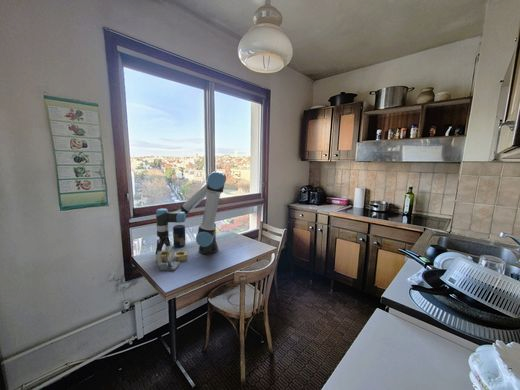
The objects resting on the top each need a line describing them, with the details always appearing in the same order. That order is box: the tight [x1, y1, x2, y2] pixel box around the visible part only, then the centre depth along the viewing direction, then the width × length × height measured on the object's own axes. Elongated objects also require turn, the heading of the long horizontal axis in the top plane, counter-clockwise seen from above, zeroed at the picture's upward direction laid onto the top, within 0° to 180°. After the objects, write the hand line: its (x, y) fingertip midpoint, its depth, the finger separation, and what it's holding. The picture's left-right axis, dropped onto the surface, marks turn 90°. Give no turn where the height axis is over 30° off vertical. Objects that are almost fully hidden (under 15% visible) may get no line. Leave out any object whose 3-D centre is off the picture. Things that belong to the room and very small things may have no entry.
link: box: [155, 250, 173, 262], centre depth 160 cm, size 8×8×4 cm
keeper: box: [157, 250, 181, 272], centre depth 147 cm, size 12×10×12 cm
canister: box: [172, 224, 186, 248], centre depth 184 cm, size 10×10×18 cm
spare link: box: [173, 250, 188, 262], centre depth 161 cm, size 8×8×4 cm
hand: (163, 258), depth 161 cm, fingers open, 13 cm apart
